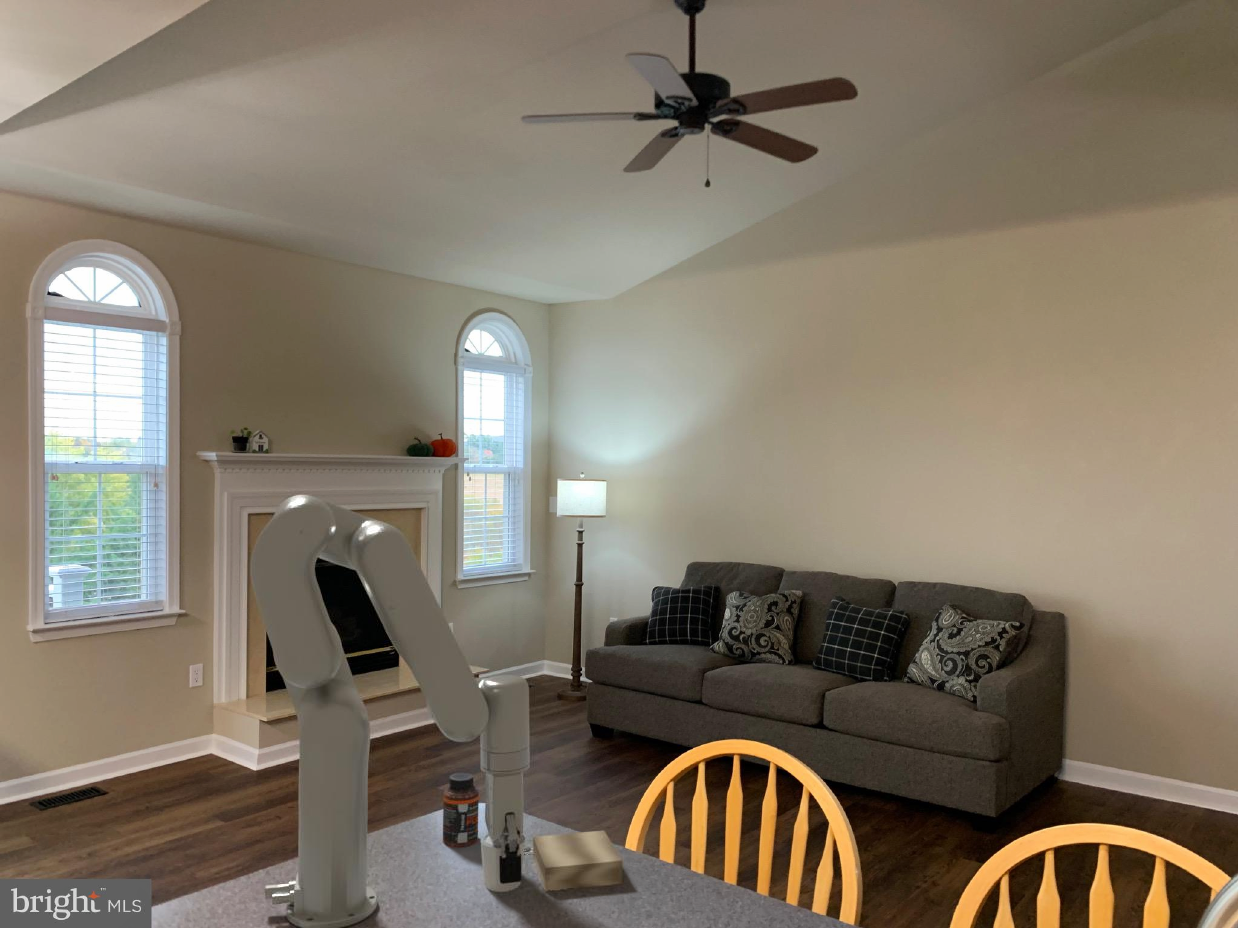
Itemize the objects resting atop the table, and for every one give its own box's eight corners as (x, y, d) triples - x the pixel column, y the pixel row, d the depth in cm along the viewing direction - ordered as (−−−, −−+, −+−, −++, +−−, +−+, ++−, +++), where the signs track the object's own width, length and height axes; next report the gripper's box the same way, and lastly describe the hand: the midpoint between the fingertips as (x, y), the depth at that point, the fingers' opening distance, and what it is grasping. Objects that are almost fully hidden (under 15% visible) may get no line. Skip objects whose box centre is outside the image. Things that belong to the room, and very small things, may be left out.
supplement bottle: (471, 850, 157) (472, 783, 157) (437, 848, 158) (438, 780, 158) (482, 836, 163) (483, 771, 163) (449, 834, 164) (450, 769, 164)
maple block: (545, 893, 143) (545, 867, 143) (532, 860, 155) (533, 836, 155) (621, 885, 146) (622, 860, 146) (603, 854, 158) (604, 830, 158)
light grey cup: (517, 895, 141) (517, 849, 141) (473, 891, 143) (474, 845, 143) (530, 876, 148) (530, 831, 148) (488, 871, 150) (489, 827, 149)
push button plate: (507, 857, 155) (507, 855, 155) (504, 847, 159) (504, 845, 159) (543, 854, 156) (543, 852, 156) (539, 844, 160) (539, 842, 160)
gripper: (475, 742, 153) (476, 847, 153) (486, 778, 136) (488, 896, 136) (521, 738, 155) (522, 842, 155) (538, 773, 138) (539, 890, 138)
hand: (506, 867), depth 146 cm, fingers open, 9 cm apart
